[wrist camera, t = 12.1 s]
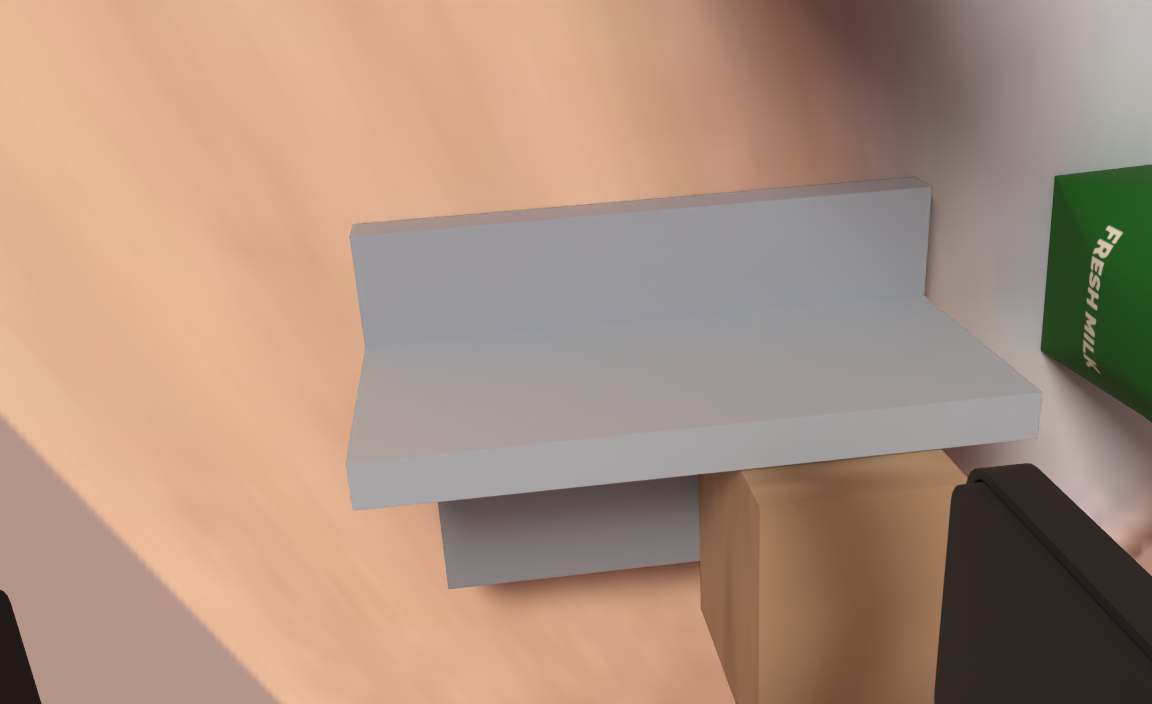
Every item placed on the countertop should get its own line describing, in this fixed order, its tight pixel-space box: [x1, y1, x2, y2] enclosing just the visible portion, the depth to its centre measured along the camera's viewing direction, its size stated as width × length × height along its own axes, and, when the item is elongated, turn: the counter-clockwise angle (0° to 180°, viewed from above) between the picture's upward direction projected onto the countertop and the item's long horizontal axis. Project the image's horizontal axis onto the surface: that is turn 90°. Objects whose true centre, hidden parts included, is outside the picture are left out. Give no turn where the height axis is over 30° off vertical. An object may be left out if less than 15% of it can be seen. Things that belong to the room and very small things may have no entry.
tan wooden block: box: [698, 449, 968, 704], centre depth 36 cm, size 6×10×8 cm, turn 3°
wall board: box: [346, 177, 1043, 589], centre depth 37 cm, size 20×12×10 cm, turn 93°
